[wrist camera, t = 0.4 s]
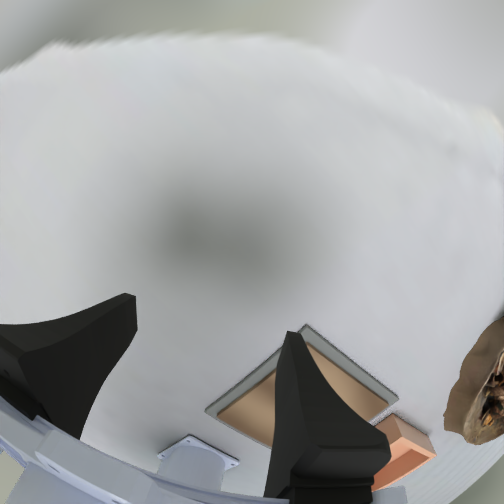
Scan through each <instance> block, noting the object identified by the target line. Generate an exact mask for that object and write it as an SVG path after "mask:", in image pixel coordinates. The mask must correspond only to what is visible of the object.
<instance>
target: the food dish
mask: <svg viewBox="0 0 504 504" xmlns="http://www.w3.org/2000/svg"><path fill="white" fill-rule="evenodd" d="M443 416H444V417H445V418H444V430H446V431H452V432H455V433H459V434H461V435H462V436H463V437H464V439H465V440H466V441H467V443H471V444H474V445H481V444H483V443H486V442H489V441H491V440H494V439H496V438H498V437H499V436H501V435H503V434H504V316H503V317H502V318H501V319H500V320H498V321H495V322H493V323H492V324H491V325H489V326H488V327H487V328H486V329H485V330H484V331H483V333H482V334H481V335H480V337H479V339H478V341H477V342H476V344H475V345H474V346H473V348H472V349H471V350H470V352H469V353H468V354H467V355H466V357H465V359H464V361H463V363H462V366H461V370H460V378H459V380H458V381H457V382H456V383H455V385H454V387H453V388H452V389H451V392H450V395H449V400H448V403H447V409H446V411H445V413H444V415H443Z"/></svg>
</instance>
